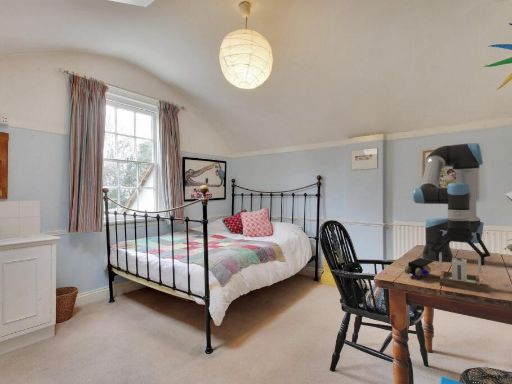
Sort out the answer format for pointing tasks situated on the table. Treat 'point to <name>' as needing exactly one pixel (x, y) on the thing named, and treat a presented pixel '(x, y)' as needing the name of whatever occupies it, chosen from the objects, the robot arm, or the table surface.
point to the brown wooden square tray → (460, 282)
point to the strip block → (459, 269)
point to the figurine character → (418, 268)
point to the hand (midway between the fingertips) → (459, 270)
